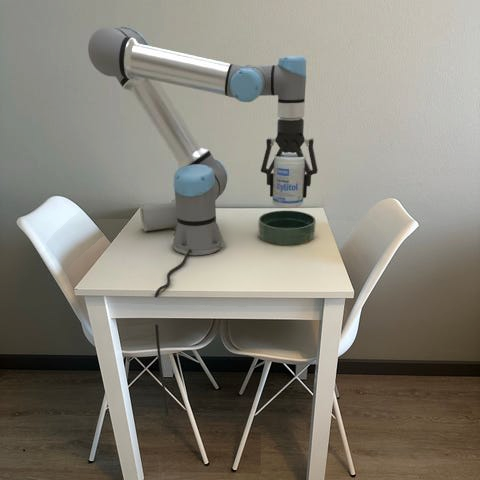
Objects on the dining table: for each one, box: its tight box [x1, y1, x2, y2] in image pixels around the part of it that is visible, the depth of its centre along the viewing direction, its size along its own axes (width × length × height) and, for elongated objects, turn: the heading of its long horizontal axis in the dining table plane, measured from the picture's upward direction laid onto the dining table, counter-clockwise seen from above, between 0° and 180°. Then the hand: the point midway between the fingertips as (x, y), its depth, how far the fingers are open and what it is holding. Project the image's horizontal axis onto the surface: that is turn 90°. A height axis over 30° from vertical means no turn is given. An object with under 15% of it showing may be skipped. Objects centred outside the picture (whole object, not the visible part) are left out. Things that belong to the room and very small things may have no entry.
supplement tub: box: [272, 152, 307, 209], centre depth 143 cm, size 10×10×15 cm
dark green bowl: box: [258, 210, 317, 246], centre depth 150 cm, size 18×18×6 cm
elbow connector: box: [139, 197, 178, 232], centre depth 160 cm, size 18×11×20 cm
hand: (288, 196), depth 145 cm, fingers closed on supplement tub, 10 cm apart
